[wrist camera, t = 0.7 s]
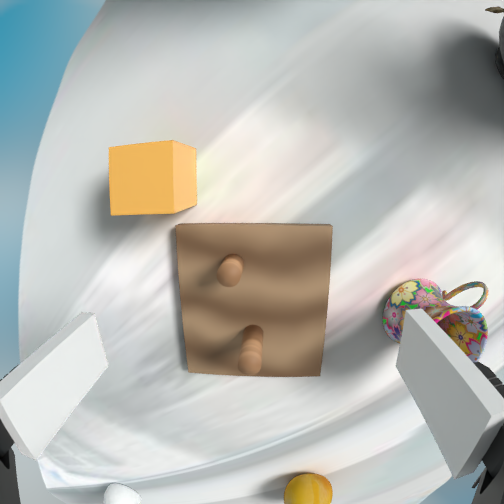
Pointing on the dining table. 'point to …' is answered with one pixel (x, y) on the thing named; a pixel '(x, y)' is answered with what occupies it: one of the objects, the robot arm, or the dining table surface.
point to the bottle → (121, 495)
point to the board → (254, 297)
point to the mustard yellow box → (152, 178)
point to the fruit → (308, 490)
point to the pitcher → (503, 51)
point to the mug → (439, 314)
